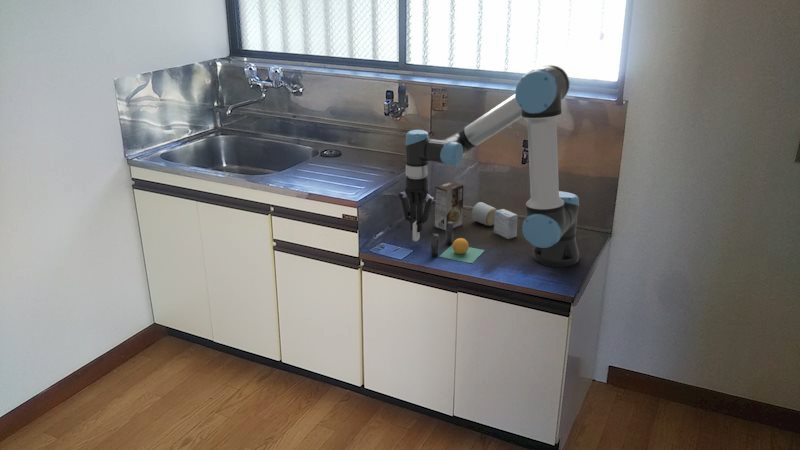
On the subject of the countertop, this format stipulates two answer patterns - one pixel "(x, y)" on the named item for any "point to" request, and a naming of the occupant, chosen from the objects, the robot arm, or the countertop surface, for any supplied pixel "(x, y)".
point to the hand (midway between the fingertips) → (416, 239)
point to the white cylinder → (483, 213)
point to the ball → (460, 246)
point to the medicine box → (505, 223)
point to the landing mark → (466, 257)
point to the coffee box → (448, 204)
